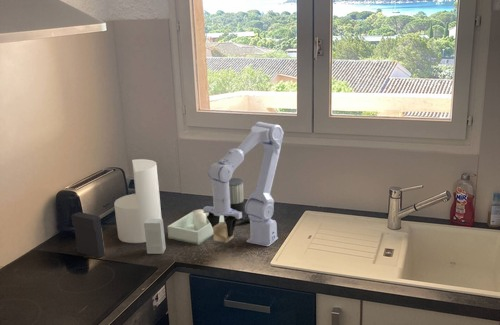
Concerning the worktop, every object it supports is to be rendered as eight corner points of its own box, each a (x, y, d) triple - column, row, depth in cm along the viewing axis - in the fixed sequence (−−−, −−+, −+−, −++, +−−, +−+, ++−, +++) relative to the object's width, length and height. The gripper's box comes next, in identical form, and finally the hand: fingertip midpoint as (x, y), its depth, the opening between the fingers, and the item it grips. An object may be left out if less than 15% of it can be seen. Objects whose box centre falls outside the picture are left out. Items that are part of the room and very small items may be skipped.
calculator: (106, 254, 195) (101, 215, 191) (97, 258, 192) (92, 219, 188) (85, 248, 201) (79, 210, 197) (76, 253, 197) (70, 214, 193)
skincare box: (166, 248, 197) (163, 218, 194) (163, 254, 193) (160, 223, 190) (149, 248, 198) (146, 218, 195) (146, 253, 194) (143, 223, 191)
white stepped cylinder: (160, 222, 222) (154, 157, 214) (165, 239, 206) (158, 169, 198) (117, 228, 218) (109, 162, 210) (118, 245, 202) (110, 174, 194)
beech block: (233, 237, 188) (233, 224, 187) (226, 242, 184) (225, 229, 183) (221, 234, 191) (220, 221, 189) (213, 240, 187) (213, 226, 185)
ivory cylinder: (209, 226, 214) (208, 210, 212) (203, 231, 209) (202, 214, 207) (198, 225, 216) (196, 208, 214) (192, 229, 211) (190, 213, 209)
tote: (224, 227, 214) (223, 215, 213) (198, 244, 200) (197, 232, 198) (195, 221, 221) (194, 210, 220) (168, 238, 206) (167, 226, 205)
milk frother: (230, 209, 233) (228, 176, 229) (263, 214, 226) (261, 180, 222) (213, 221, 221) (211, 187, 217) (247, 226, 214) (245, 191, 210)
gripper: (197, 198, 183) (199, 235, 187) (233, 204, 176) (235, 242, 180) (208, 192, 189) (211, 227, 193) (244, 197, 182) (246, 234, 186)
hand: (223, 234), depth 187 cm, fingers closed on beech block, 5 cm apart
